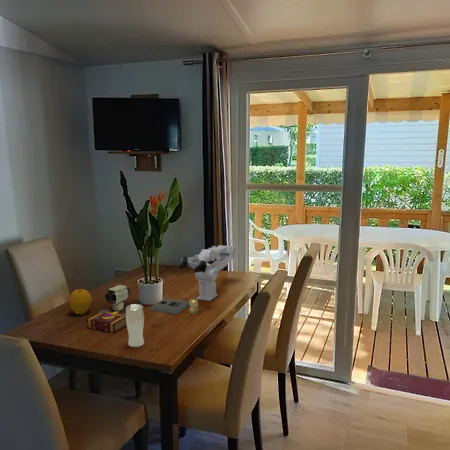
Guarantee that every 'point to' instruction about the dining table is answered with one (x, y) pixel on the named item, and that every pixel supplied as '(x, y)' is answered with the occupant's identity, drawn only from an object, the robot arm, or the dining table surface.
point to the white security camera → (117, 296)
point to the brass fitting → (193, 306)
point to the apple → (80, 301)
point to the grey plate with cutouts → (170, 306)
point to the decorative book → (107, 321)
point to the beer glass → (135, 324)
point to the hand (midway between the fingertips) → (187, 268)
